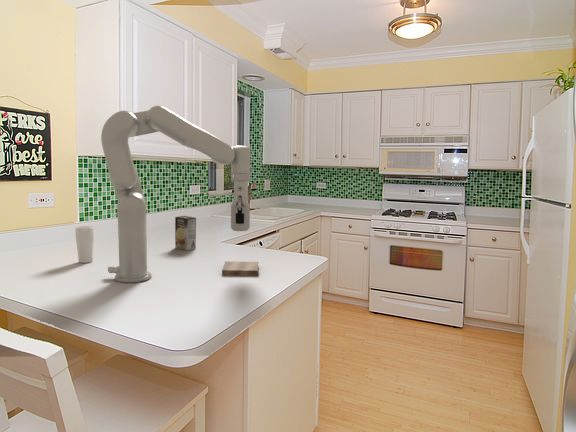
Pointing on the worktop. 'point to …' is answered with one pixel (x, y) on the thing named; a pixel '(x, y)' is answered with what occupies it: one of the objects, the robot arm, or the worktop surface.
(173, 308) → the worktop surface
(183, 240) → the coffee box
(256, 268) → the walnut board
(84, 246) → the drinking glass
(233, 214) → the can
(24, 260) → the worktop surface
